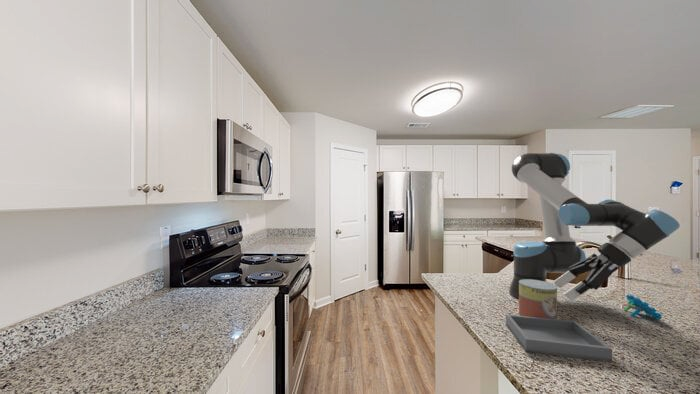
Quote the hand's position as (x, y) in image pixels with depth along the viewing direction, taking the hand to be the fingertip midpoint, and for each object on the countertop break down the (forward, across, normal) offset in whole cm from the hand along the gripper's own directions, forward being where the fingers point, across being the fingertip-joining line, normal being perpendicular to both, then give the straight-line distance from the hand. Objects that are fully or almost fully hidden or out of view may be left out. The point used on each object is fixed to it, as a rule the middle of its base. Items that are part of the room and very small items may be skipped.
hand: (561, 290), depth 90 cm
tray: (+12, -16, -4) cm, 20 cm away
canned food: (+13, +2, -3) cm, 13 cm away
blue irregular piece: (-11, +20, -28) cm, 36 cm away
